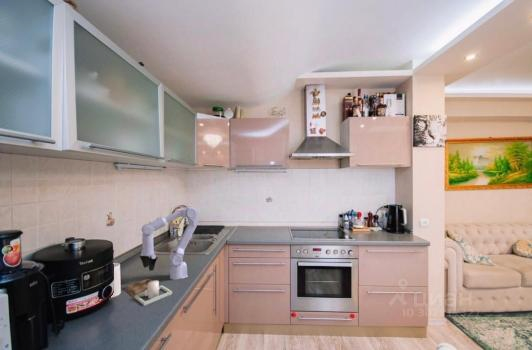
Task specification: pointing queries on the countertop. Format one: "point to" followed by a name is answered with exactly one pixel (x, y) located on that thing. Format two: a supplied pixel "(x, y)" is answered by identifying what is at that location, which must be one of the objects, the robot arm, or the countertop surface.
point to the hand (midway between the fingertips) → (148, 268)
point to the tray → (153, 298)
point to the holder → (138, 287)
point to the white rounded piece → (152, 289)
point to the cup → (116, 280)
